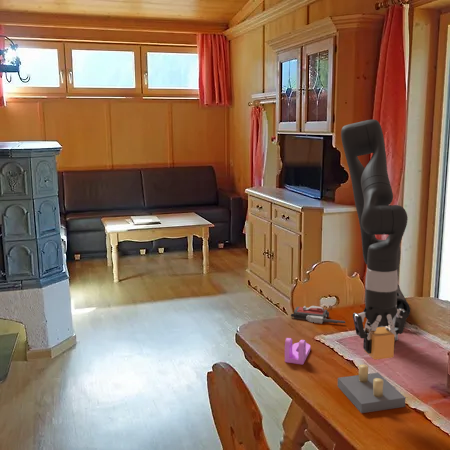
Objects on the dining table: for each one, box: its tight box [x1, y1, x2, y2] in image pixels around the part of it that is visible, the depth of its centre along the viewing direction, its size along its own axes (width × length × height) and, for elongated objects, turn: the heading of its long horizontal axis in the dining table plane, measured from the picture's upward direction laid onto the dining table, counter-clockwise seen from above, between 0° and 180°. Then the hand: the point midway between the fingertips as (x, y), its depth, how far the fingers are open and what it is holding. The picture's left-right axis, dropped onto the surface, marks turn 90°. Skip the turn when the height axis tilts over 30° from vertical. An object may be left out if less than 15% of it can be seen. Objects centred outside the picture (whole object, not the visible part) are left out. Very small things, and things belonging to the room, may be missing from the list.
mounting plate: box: [337, 363, 407, 414], centre depth 139 cm, size 12×14×6 cm
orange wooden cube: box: [363, 327, 395, 361], centre depth 132 cm, size 5×5×6 cm
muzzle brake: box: [396, 284, 411, 320], centre depth 199 cm, size 10×28×10 cm, turn 172°
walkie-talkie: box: [290, 305, 346, 325], centre depth 193 cm, size 9×4×20 cm
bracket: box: [284, 337, 311, 365], centre depth 164 cm, size 13×6×7 cm, turn 159°
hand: (378, 350), depth 133 cm, fingers closed on orange wooden cube, 5 cm apart
